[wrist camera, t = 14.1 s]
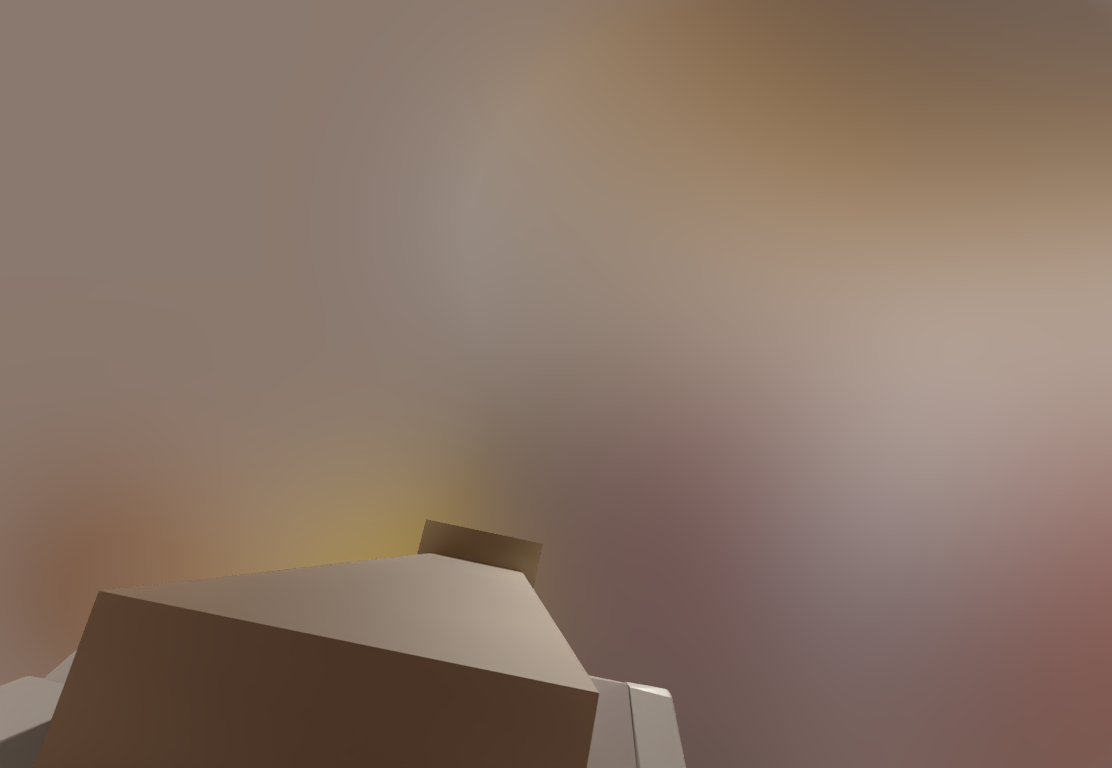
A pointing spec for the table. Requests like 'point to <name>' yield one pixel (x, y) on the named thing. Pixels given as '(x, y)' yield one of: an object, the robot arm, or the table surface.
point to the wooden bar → (331, 668)
